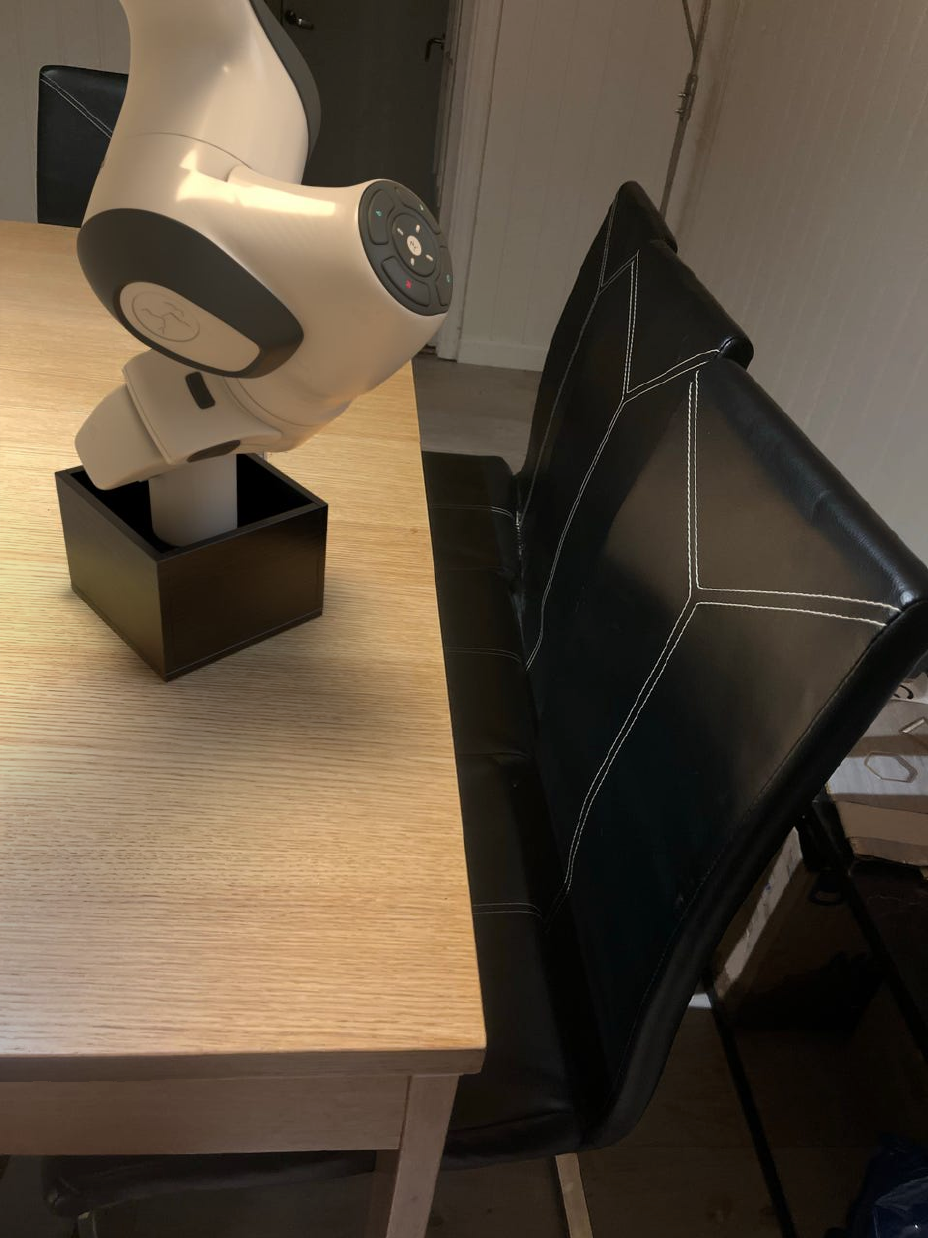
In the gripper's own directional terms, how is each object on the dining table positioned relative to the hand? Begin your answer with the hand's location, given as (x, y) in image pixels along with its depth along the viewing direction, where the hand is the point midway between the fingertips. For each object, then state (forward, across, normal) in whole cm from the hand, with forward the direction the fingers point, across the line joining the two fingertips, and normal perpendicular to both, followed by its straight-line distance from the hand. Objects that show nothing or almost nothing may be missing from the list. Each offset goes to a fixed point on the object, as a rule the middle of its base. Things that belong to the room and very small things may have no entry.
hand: (186, 456), depth 68 cm
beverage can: (+4, 0, +5) cm, 7 cm away
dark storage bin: (+9, 0, +10) cm, 13 cm away
